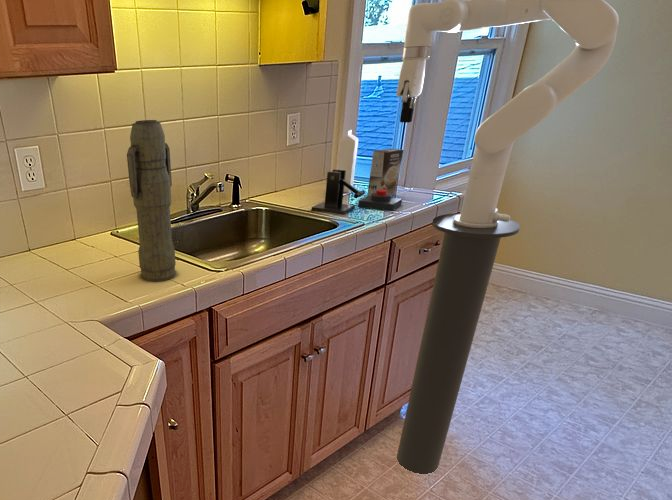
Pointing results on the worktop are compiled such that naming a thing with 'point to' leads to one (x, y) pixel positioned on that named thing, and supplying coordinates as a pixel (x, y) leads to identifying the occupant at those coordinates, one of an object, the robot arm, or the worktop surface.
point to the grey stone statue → (152, 199)
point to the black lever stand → (334, 195)
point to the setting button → (381, 192)
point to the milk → (347, 157)
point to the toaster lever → (352, 188)
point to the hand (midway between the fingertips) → (405, 122)
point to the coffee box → (385, 171)
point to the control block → (380, 202)
